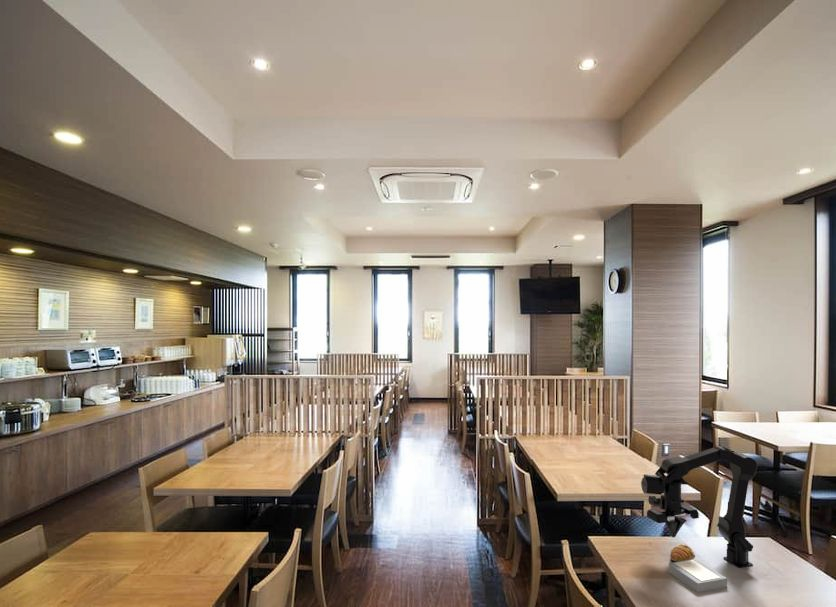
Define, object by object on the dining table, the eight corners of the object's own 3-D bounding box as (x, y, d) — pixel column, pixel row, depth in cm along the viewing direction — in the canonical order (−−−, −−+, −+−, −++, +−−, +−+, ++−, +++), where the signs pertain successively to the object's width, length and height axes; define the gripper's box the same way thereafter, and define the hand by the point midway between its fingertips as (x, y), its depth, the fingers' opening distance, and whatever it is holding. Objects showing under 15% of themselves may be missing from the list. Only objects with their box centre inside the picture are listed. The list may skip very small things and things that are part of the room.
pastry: (684, 567, 157) (684, 557, 157) (664, 558, 163) (665, 548, 163) (696, 559, 163) (696, 548, 163) (677, 550, 168) (677, 540, 168)
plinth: (696, 567, 158) (695, 558, 158) (727, 587, 146) (726, 577, 146) (668, 572, 155) (668, 562, 155) (698, 592, 143) (697, 582, 143)
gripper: (675, 484, 175) (675, 524, 174) (635, 488, 170) (636, 529, 170) (699, 495, 164) (700, 537, 164) (658, 500, 159) (658, 544, 159)
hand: (672, 536), depth 164 cm, fingers closed
